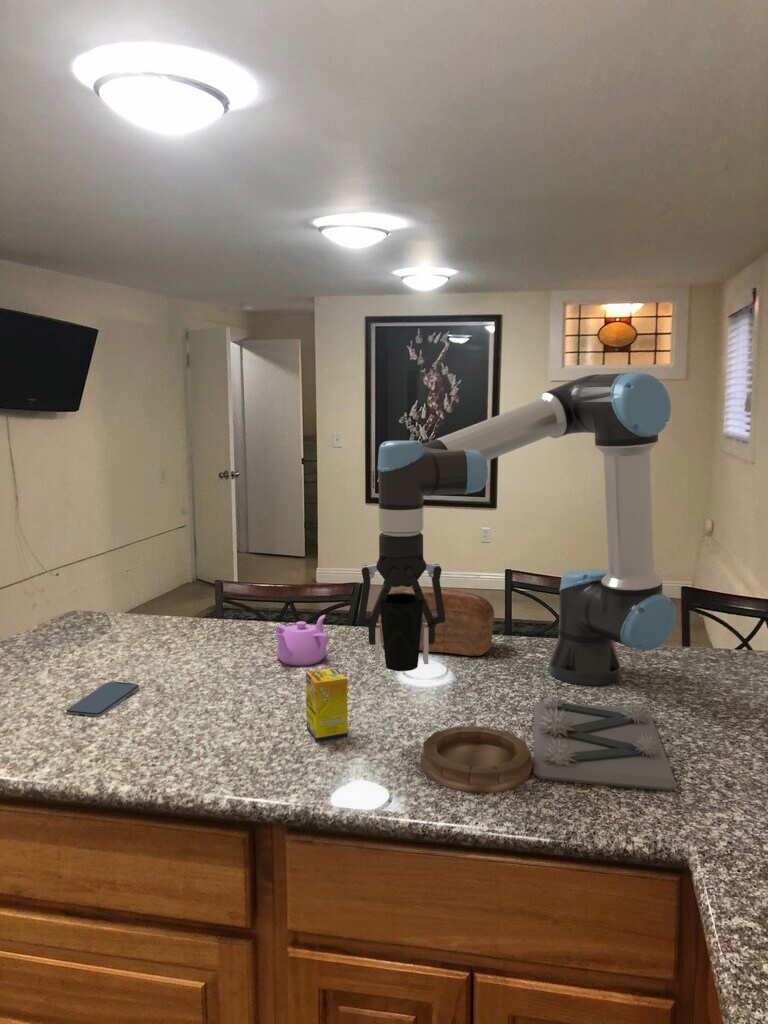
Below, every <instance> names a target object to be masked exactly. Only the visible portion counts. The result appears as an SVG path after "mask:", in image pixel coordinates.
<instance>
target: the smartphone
mask: <svg viewBox="0 0 768 1024" xmlns="http://www.w3.org/2000/svg"><path fill="white" fill-rule="evenodd" d="M138 691H140V684H138V683H132V682H122V681H121V682H120V681H108V682H105V684H103V685H102V686H100V687H98V688H97V689H94V690H93V691H92V692H91V693H89V694H87V695H86V696H85V697H83V698H82V699H80V700H79V701H77V702H76V703H74V704H73V705H71V706H70V707H68V708H67V709H66V714H67V715H69V716H70V715H71V716H81V717H88V718H89V717H91V718H100V717H102V716H104V715H106V714H107V713H108V712H110V711H111V710H113V709H114V708H116V707H117V706H119V705H120V704H122V703H124V701H126V700H128V699H129V698H130V697H132V696H133V695H134V694H136V693H137V692H138Z"/></svg>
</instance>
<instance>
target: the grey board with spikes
mask: <svg viewBox="0 0 768 1024" xmlns="http://www.w3.org/2000/svg"><path fill="white" fill-rule="evenodd" d="M546 696H547V697H544V700H545V701H541V700H540V701H539V702H537V703H535V704H534V705H533V762H532V772H533V774H534V776H535V777H536V778H537V779H539V780H542V781H543V780H544V781H552V782H553V781H554V782H564V783H574V784H575V783H576V784H587V785H599V786H607V787H608V786H609V787H618V788H629V789H630V788H631V789H641V790H651V791H664V792H671V791H672V790H674V789H675V788H677V786H678V785H677V782H676V779H675V777H674V776H675V775H674V773H673V771H672V769H671V766H670V764H669V760H668V757H667V755H666V752H665V749H664V747H663V744H662V741H661V739H660V736H659V734H658V731H657V728H656V725H655V723H654V720H653V718H652V717H653V716H652V715H651V713H650V712H649V710H648V708H643V707H644V705H645V704H642V703H641V702H638V704H637V703H636V700H635V699H634V701H633V704H632V702H631V701H630V700H629V702H628V703H629V704H626V703H624V705H625V707H624V706H623V707H622V706H608V705H597V704H595V705H594V704H580V703H568V702H566V701H567V700H566V698H563V699H562V697H563V695H560V693H558V694H557V695H556V693H554V695H553V693H552V692H550V696H549V694H546ZM565 700H566V701H565ZM628 705H629V706H628Z"/></svg>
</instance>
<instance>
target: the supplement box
mask: <svg viewBox="0 0 768 1024" xmlns="http://www.w3.org/2000/svg"><path fill="white" fill-rule="evenodd" d="M305 683H306V684H305V687H306V690H305V691H306V695H305V696H306V700H305V701H306V730H307V731H308V732H309V733H310V734H311V736H312V737H313V738H314V740H315V741H316V742H317V743H320V742H324V741H331V740H336V739H341V738H346V737H348V736H349V735H348V728H349V727H348V678H347V677H345V676H344V675H343V674H342V672H341V671H340V670H338V668H336V667H334V668H333V667H332V668H327V669H320V670H314V671H313V670H312V671H307V672H305Z"/></svg>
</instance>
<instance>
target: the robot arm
mask: <svg viewBox="0 0 768 1024" xmlns="http://www.w3.org/2000/svg"><path fill="white" fill-rule="evenodd" d="M671 405H672V403H671V397H670V395H669V392H668V390H667V388H666V387H665V385H664V384H663V383H662V382H660V380H659V379H658V378H657V377H655V376H653V375H651V374H649V373H644V372H635V371H634V372H633V371H632V372H631V371H628V372H620V373H606V374H603V373H602V374H600V373H599V374H590V375H585V376H582V377H579V378H577V379H574V380H572V381H569V382H566V383H564V384H562V385H559V386H557V387H554V388H552V389H550V390H548V391H544V392H542V393H540V394H538V396H536V398H535V400H534V401H533V402H529V403H528V404H527V403H526V404H524V405H522V406H519V407H517V408H514V409H512V410H509V411H506V412H504V413H501V414H499V415H495V416H493V417H491V418H488V419H485V420H483V421H480V422H478V423H475V424H472V425H470V426H467V427H463V428H462V429H458V430H457V431H454V432H451V433H449V434H446V435H443V436H441V437H438V438H436V439H434V440H430V441H428V442H424V443H422V442H421V440H387V441H384V442H382V443H381V444H380V445H379V448H378V456H377V457H378V461H377V471H378V473H377V474H378V477H377V478H378V529H379V531H380V532H381V533H380V534H379V535H378V560H377V561H376V563H375V564H370V565H367V564H363V565H362V566H361V575H362V581H363V582H362V588H361V594H360V601H359V608H358V615H357V623H358V624H359V625H365V626H367V628H368V643H369V646H375V655H374V656H375V666H380V665H381V641H380V624H379V623H378V618H379V615H380V613H381V602H380V601H384V602H385V601H386V599H387V596H388V594H390V593H391V589H392V588H398V587H405V588H411V589H413V590H414V592H415V595H416V597H417V599H418V602H419V601H421V600H423V608H422V611H423V613H424V616H425V618H426V620H427V623H423V651H422V661H423V664H424V665H429V651H428V644H434V642H435V626H436V625H437V624H439V623H444V622H445V620H446V619H445V612H444V606H443V599H442V593H441V589H442V588H441V581H440V580H441V575H442V568H441V565H440V564H439V563H435V564H431V563H427V562H426V560H425V559H424V535H423V533H422V531H423V530H424V497H425V496H426V497H428V496H429V497H430V496H437V495H438V496H439V495H440V496H441V495H460V494H461V495H462V494H464V495H467V494H473V493H478V492H481V491H482V490H483V489H484V488H485V487H486V484H487V481H488V478H489V466H488V463H487V462H488V461H490V460H493V459H495V458H498V457H500V456H503V455H505V454H508V453H511V452H513V451H515V450H517V449H518V450H519V449H520V448H522V447H525V446H528V445H530V444H533V443H536V442H537V441H541V440H543V439H545V438H548V437H549V438H552V439H559V438H561V437H564V436H567V435H571V434H580V433H582V434H583V433H584V434H585V433H587V434H588V433H592V434H594V446H595V447H596V449H598V450H599V451H600V452H601V453H602V455H603V467H604V469H603V470H604V473H603V474H604V492H605V493H604V495H605V516H606V517H605V519H606V541H607V563H608V566H607V567H608V569H580V570H579V569H577V570H570V571H566V572H565V573H564V574H563V575H562V576H561V578H560V579H561V580H560V586H559V590H558V591H559V610H558V611H559V616H558V618H559V619H558V638H557V640H556V645H555V647H554V648H553V652H552V654H551V657H550V659H549V670H548V671H549V674H551V676H552V677H554V678H555V679H558V680H560V681H563V682H566V683H571V684H575V685H581V686H606V685H607V686H608V685H611V684H615V683H617V682H618V681H619V680H620V679H621V675H622V674H621V673H622V672H621V671H622V667H621V662H620V660H619V657H618V656H619V655H618V652H617V649H616V645H615V642H617V643H619V644H622V645H623V646H625V647H627V648H629V649H636V650H638V651H642V652H643V651H652V650H654V649H657V648H658V647H660V646H661V645H663V644H664V643H665V642H666V641H667V639H668V637H669V636H670V635H671V634H672V632H673V630H674V629H675V628H674V627H675V625H676V622H677V621H676V620H677V608H676V606H675V603H674V602H673V601H672V600H671V598H669V596H666V594H663V593H664V592H663V591H664V590H663V579H662V577H661V576H660V575H658V574H657V573H656V572H655V569H654V567H655V565H654V564H655V563H654V537H653V536H654V534H653V533H654V532H653V508H652V507H653V500H652V499H653V498H652V497H653V496H652V475H651V474H652V469H651V465H652V464H651V452H652V450H653V449H654V448H655V447H656V445H657V444H658V443H659V434H660V433H661V432H662V431H663V430H665V428H666V426H667V423H668V422H669V421H670V418H671V415H672V414H671V413H672V406H671ZM425 571H427V574H428V577H429V578H431V585H432V588H433V592H434V598H435V605H436V611H437V615H434V616H433V615H432V613H431V611H430V608H429V606H428V604H427V601H426V599H425V597H424V594H423V592H422V590H421V589H422V587H421V585H420V583H419V579H420V577H422V574H424V572H425ZM376 572H378V573H379V574H380V576H381V577H382V578H383V580H384V581H383V583H382V586H381V588H380V591H379V593H378V596H377V598H376V600H375V603H374V606H373V607H372V611H371V613H370V615H369V616H368V615H367V612H368V611H367V609H368V605H369V604H368V603H369V595H370V590H371V579H373V578H374V577H375V573H376Z"/></svg>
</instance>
